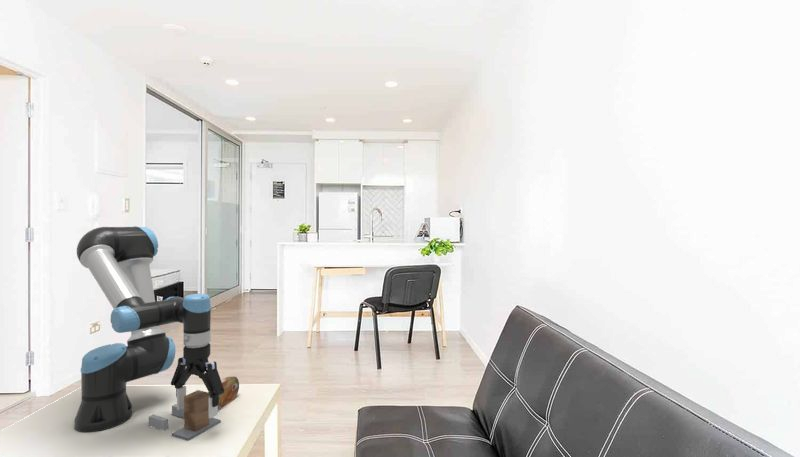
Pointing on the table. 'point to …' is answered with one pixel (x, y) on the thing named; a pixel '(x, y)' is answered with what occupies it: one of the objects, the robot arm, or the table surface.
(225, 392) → the tin
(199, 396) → the walnut block
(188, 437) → the slate plate
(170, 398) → the table surface
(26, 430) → the table surface
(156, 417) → the cradle
